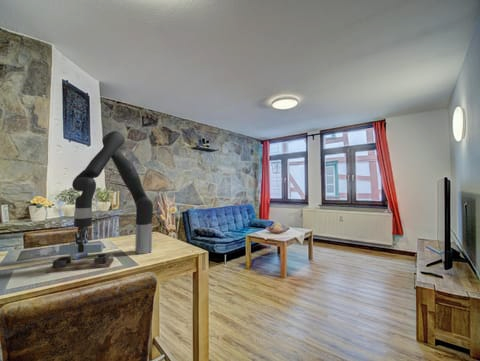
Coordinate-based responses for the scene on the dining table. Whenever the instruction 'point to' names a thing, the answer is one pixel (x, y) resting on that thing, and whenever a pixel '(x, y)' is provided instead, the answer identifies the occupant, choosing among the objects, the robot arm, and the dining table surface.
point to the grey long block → (74, 248)
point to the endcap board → (80, 263)
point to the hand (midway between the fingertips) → (82, 250)
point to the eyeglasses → (48, 250)
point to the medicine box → (76, 256)
